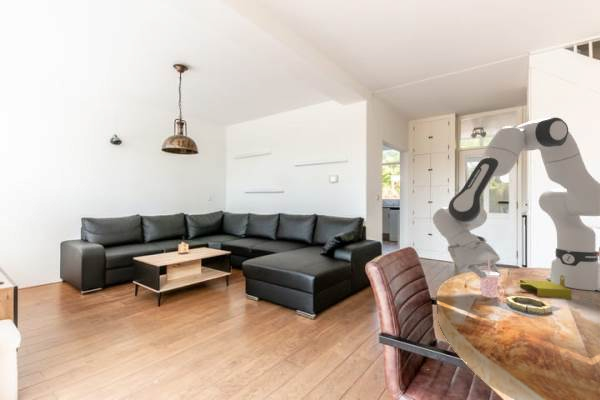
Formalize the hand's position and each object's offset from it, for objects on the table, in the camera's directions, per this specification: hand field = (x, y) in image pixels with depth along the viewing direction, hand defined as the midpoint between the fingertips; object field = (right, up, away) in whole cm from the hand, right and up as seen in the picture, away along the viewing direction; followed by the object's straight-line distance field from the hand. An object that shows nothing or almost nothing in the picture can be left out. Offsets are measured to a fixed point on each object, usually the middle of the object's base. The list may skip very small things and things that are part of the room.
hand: (490, 276), depth 99 cm
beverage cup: (0, -8, +1) cm, 8 cm away
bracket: (+21, -9, +5) cm, 23 cm away
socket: (+5, -7, -10) cm, 13 cm away
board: (+5, -8, -10) cm, 14 cm away
